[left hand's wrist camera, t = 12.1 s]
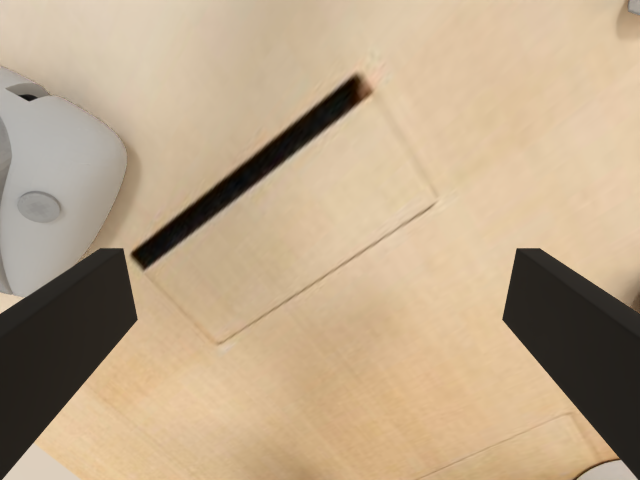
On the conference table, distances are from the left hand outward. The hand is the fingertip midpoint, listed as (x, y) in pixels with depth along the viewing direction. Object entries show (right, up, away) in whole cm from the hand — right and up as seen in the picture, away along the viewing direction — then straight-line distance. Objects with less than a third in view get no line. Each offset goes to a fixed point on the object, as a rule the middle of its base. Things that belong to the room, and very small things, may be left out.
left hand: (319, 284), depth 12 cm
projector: (-29, +7, +27) cm, 40 cm away
